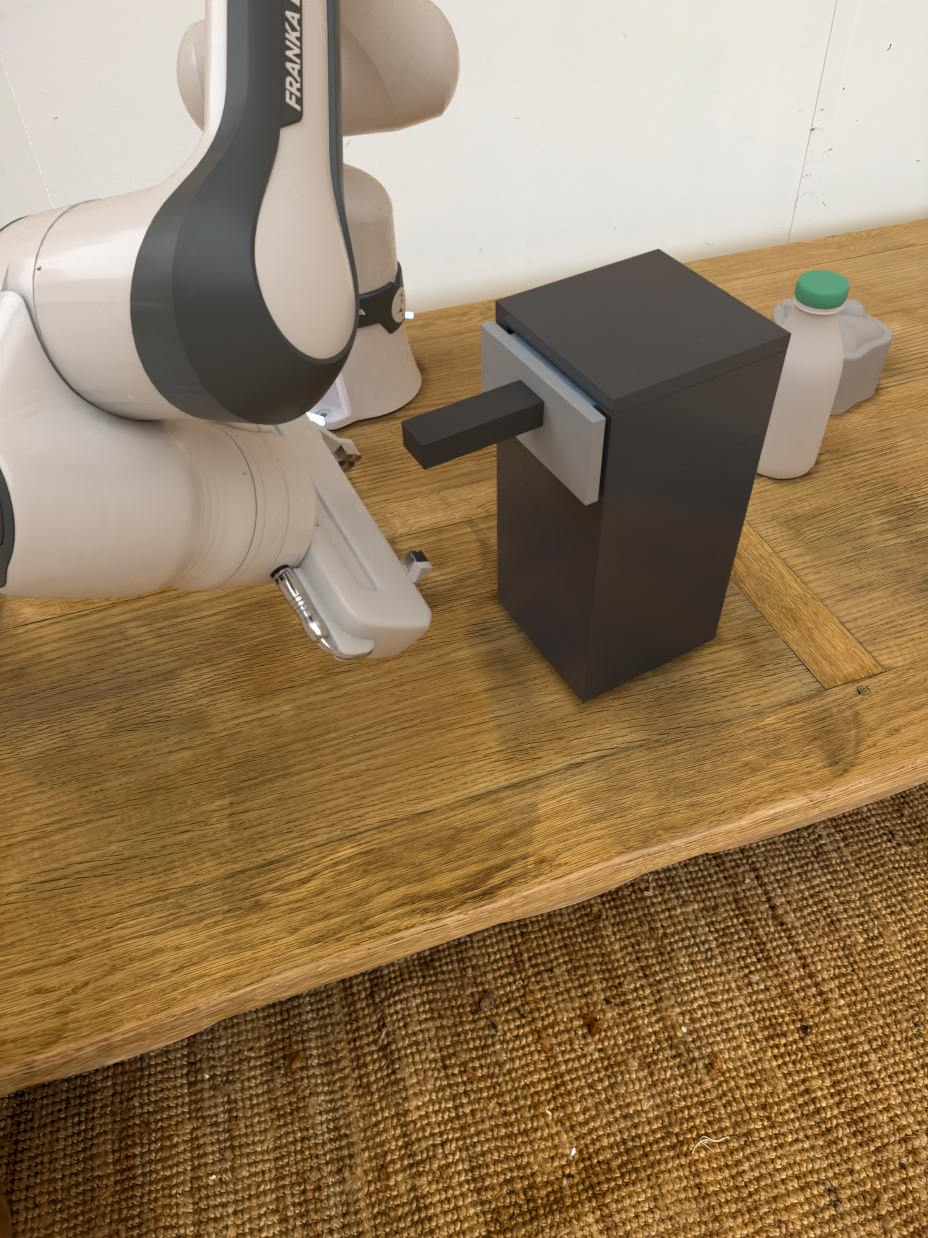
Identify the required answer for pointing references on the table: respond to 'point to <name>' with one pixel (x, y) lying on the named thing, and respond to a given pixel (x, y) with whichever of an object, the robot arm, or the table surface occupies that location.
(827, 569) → the table surface
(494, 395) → the freezer drawer
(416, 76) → the robot arm
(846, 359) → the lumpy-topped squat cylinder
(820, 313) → the milk bottle
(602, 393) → the freezer
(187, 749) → the table surface
